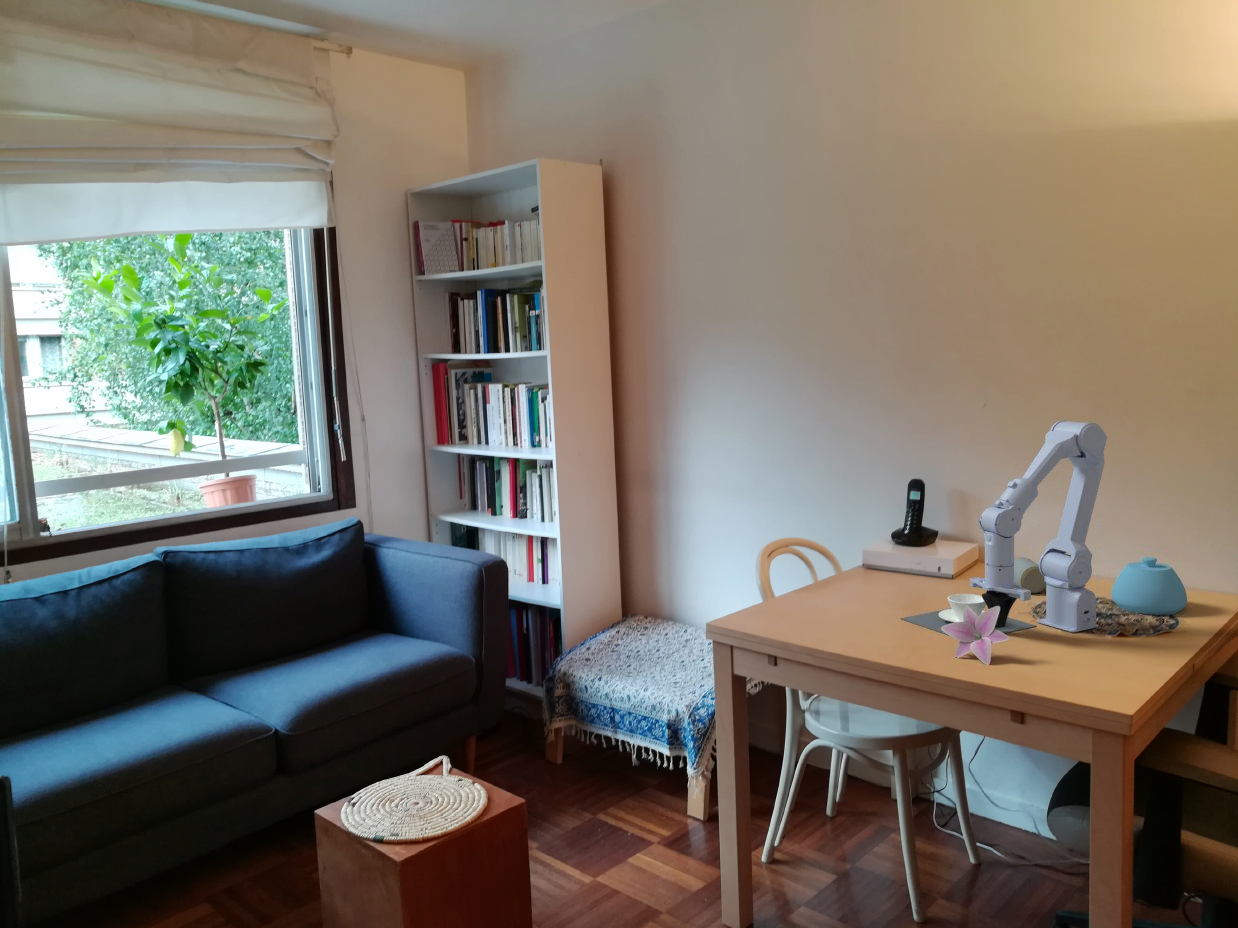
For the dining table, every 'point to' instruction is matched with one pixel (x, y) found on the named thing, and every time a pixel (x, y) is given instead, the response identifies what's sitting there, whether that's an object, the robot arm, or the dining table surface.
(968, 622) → the lily
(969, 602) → the teacup
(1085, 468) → the robot arm
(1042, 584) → the ceramic mug
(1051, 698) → the dining table surface
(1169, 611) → the sugar bowl
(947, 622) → the label mat
